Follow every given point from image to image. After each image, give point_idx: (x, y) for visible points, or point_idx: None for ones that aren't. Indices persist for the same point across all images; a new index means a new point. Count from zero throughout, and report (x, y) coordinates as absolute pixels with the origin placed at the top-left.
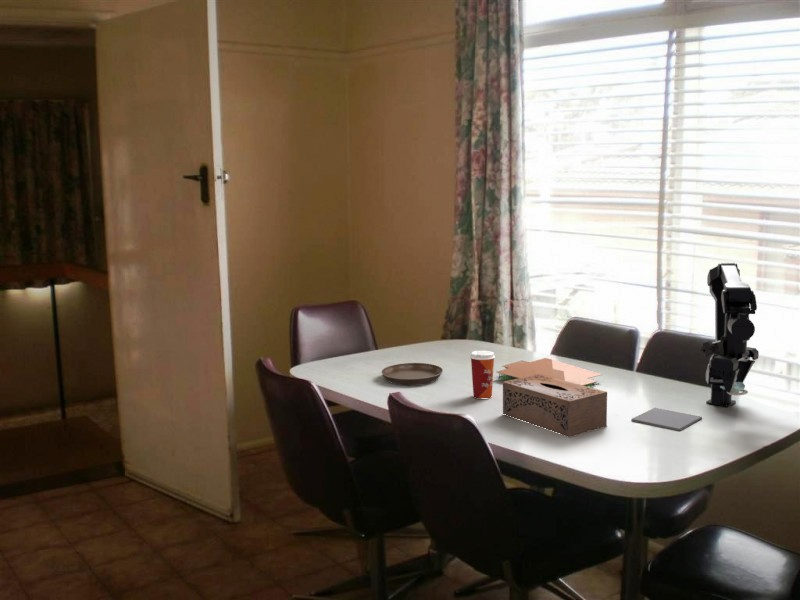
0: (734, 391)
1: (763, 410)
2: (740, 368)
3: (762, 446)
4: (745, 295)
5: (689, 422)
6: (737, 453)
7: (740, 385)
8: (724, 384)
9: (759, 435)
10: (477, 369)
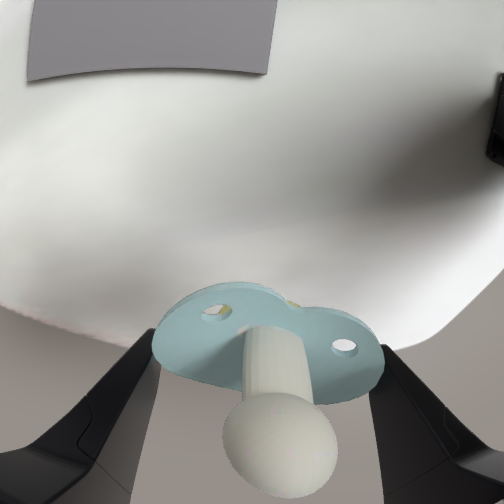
0: (233, 353)
1: (471, 270)
2: (416, 475)
3: (88, 335)
4: None
5: (124, 62)
6: (7, 296)
7: (339, 379)
8: (111, 372)
9: None
10: None
